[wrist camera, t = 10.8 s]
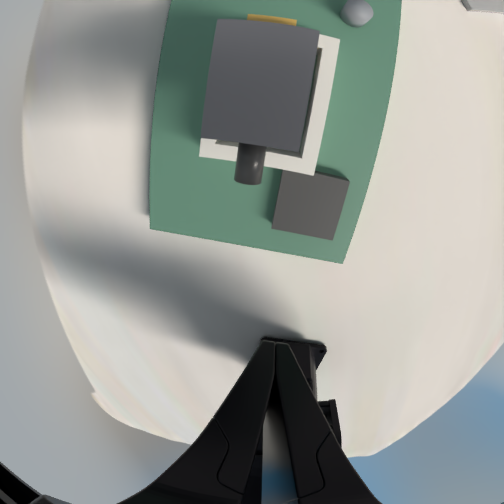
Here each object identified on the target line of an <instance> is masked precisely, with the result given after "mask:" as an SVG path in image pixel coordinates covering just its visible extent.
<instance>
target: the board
mask: <svg viewBox="0 0 504 504" xmlns="http://www.w3.org/2000/svg"><path fill="white" fill-rule="evenodd" d="M401 2H402V0H172V1H171V5H170V9H169V13H168V18H167V22H166V27H165V32H164V38H163V43H162V49H161V55H160V61H159V68H158V75H157V82H156V90H155V99H154V109H153V121H152V134H151V152H150V191H149V203H150V229H153V230H159V231H164V232H170V233H176V234H181V235H187V236H192V237H198V238H204V239H209V240H215V241H220V242H226V243H231V244H237V245H242V246H248V247H253V248H259V249H264V250H270V251H275V252H281V253H286V254H292V255H297V256H303V257H308V258H313V259H319V260H324V261H330V262H335V263H340V264H343V261H344V259H345V256H346V253H347V250H348V247H349V245H350V242H351V239H352V236H353V233H354V230H355V227H356V224H357V221H358V218H359V215H360V212H361V208H362V205H363V202H364V199H365V195H366V192H367V189H368V185H369V182H370V178H371V175H372V171H373V167H374V164H375V160H376V156H377V152H378V148H379V144H380V140H381V136H382V131H383V127H384V122H385V118H386V113H387V108H388V103H389V98H390V93H391V87H392V81H393V75H394V69H395V62H396V55H397V47H398V39H399V29H400V17H401ZM248 14H255V15H266V16H274V17H282V18H288V19H295V20H297V22H296V26H299V27H304V28H309V29H314V30H318V31H320V34H319V41H318V47H317V53H316V59H315V65H314V71H313V77H312V83H311V89H310V95H309V100H308V106H307V111H306V117H305V122H304V128H303V133H302V138H301V144H300V149H299V153H298V152H293V151H288V150H283V149H277V148H271V147H267V149H266V156H265V162H264V168H263V174H262V180H261V184H259V185H246V184H241V183H238V182H236V181H235V180H234V175H235V167H236V159H237V152H238V144H239V142H231V141H223V140H214V139H204V138H200V137H201V128H202V119H203V110H204V102H205V94H206V87H207V80H208V73H209V66H210V60H211V54H212V48H213V42H214V36H215V31H216V25H217V20H218V19H239V20H247V16H248Z"/></svg>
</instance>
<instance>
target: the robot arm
mask: <svg viewBox="0 0 504 504" xmlns="http://www.w3.org/2000/svg"><path fill="white" fill-rule="evenodd" d="M326 352H327V349H326V346H324V345H318V344H309V343H302V342H294V341H287V340H280V339H274V338H267V337H264V338H262V339H261V340H260V344H259V347H258V348H257V350H256V352H255V353H254V355H253V357H252V358H251V360H250V361H249V363H248V365H247V366H246V368H245V369H244V371H243V372H242V374H241V376H240V377H239V379H238V380H237V382H236V383H235V385H234V386H233V388H232V389H231V391H230V392H229V394H228V395H227V397H226V399H225V400H224V402H223V403H222V404H221V406H220V407H219V409H218V410H217V412H216V413H215V415H214V416H213V418H212V419H211V420H210V422H209V423H208V425H207V426H206V428H205V429H204V430H203V432H202V433H201V434H200V435H199V437H198V438H197V439H196V440H195V442H194V443H193V444H192V445H191V446H190V447H189V448H188V449H187V450H186V451H185V452H184V453H183V454H182V455H181V456H180V457H179V458H178V459H177V460H176V461H175V462H174V463H173V464H172V465H171V466H170V467H169V468H168V469H167V470H166V471H165V472H164V473H162V474H161V475H160V476H159V477H158V478H157V479H156V480H155V481H153V482H152V483H151V484H150V485H148V486H147V487H146V488H144V489H143V490H141V491H139V492H138V493H136V494H134V495H133V496H131V497H129V498H127V499H125V500H123V501H121V502H120V503H117V504H382V503H381V502H379V501H378V500H377V499H376V498H375V497H374V495H373V494H372V493H371V491H370V490H369V489H368V487H367V486H366V484H365V483H364V482H363V480H362V479H361V478H360V476H359V475H358V473H357V472H356V470H355V469H354V468H353V466H352V465H351V463H350V462H349V460H348V458H347V457H346V455H345V454H344V452H343V450H342V448H341V431H340V425H339V419H338V413H337V407H336V401H335V399H332V400H329V401H317V383H316V370H317V368H318V366H319V364H320V363H321V361H322V359H323V357H324V355H325V354H326ZM0 504H70V503H68V502H65V501H62V500H59V499H56V498H54V497H51V496H48V495H42V494H40V493H39V492H37V491H36V490H35V489H33V488H32V487H31V486H29V485H28V484H26V483H25V482H24V481H23V480H21V479H20V478H19V477H18V476H16V475H15V474H14V473H13V472H12V471H10V470H9V469H8V468H7V467H6V466H5V465H3V464H2V463H1V462H0ZM501 504H504V502H503V503H501Z"/></svg>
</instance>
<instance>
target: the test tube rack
mask: <svg viewBox="0 0 504 504" xmlns="http://www.w3.org/2000/svg"><path fill="white" fill-rule="evenodd" d="M462 2H463V4H464V6H465V7H466V9H467V11H476V12H491V13H500V14H504V0H462Z"/></svg>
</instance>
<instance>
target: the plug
mask: <svg viewBox="0 0 504 504" xmlns="http://www.w3.org/2000/svg"><path fill="white" fill-rule="evenodd" d="M296 22H297V20H295V19H288V18H282V17H274V16H266V15H255V14H248V16H247V20H239V19H218V20H217V25H216V31H215V36H214V42H213V48H212V54H211V60H210V66H209V73H208V80H207V87H206V94H205V102H204V110H203V119H202V128H201V137H200V138H204V139H214V140H223V141H231V142H239V144H238V152H237V159H236V167H235V175H234V180H235V181H236V182H238V183H241V184H246V185H259V184H261V180H262V174H263V168H264V162H265V156H266V149H267V147H271V148H277V149H283V150H288V151H293V152H298V153H299V149H300V144H301V138H302V133H303V128H304V122H305V117H306V111H307V106H308V100H309V95H310V89H311V83H312V77H313V71H314V65H315V59H316V53H317V47H318V41H319V34H320V31H318V30H314V29H309V28H304V27H299V26H296Z"/></svg>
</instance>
